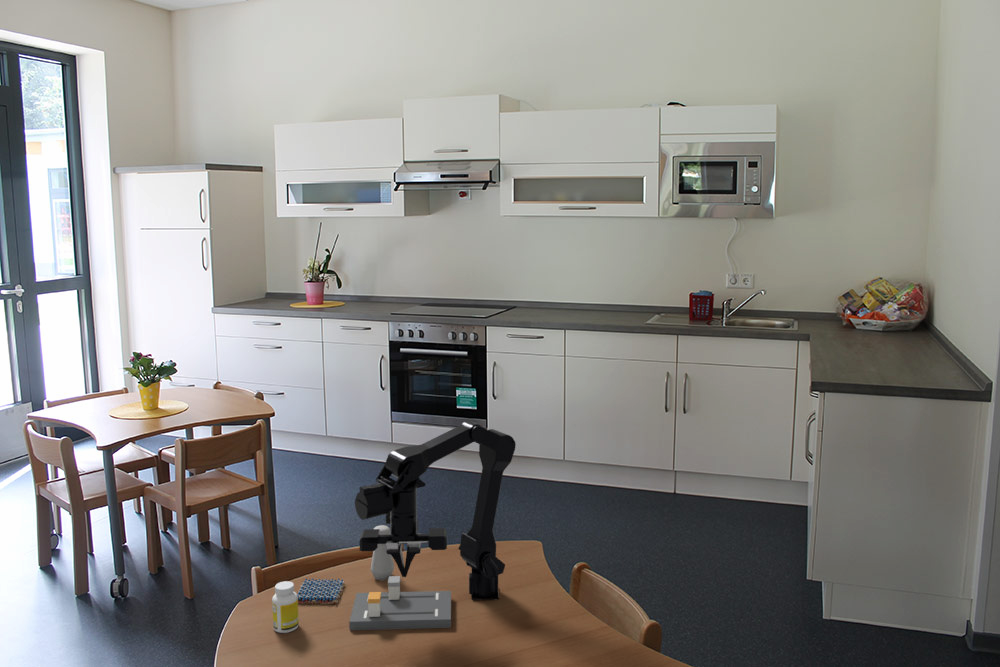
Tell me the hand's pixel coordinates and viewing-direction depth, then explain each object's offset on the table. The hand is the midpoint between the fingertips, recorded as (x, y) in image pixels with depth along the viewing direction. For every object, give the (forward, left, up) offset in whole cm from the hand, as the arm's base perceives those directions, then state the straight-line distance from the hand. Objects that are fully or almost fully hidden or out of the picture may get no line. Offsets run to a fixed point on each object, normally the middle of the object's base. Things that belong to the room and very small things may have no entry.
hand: (404, 576), depth 177 cm
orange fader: (+7, 0, -9) cm, 11 cm away
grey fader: (+3, -8, -9) cm, 12 cm away
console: (+1, -4, -11) cm, 11 cm away
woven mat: (+21, -14, -12) cm, 28 cm away
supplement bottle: (+26, +1, -11) cm, 28 cm away
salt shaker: (+7, -22, -11) cm, 26 cm away
